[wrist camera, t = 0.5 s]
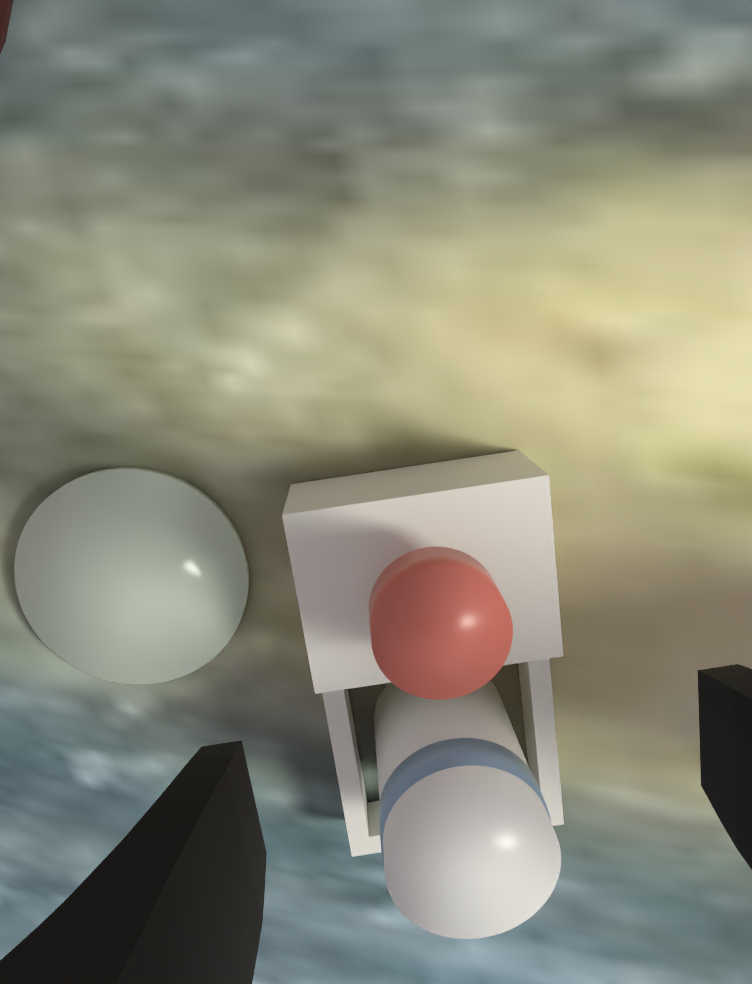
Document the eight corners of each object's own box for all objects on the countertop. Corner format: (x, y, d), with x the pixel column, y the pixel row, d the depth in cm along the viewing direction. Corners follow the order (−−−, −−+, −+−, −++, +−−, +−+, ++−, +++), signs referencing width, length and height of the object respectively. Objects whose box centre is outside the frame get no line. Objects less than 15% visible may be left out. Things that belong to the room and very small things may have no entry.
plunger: (485, 614, 19) (518, 688, 15) (374, 631, 19) (381, 709, 15) (472, 507, 18) (505, 558, 14) (357, 525, 18) (361, 580, 14)
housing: (549, 790, 22) (580, 862, 20) (351, 821, 22) (352, 897, 20) (518, 450, 20) (548, 475, 17) (291, 484, 20) (281, 515, 17)
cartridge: (510, 764, 22) (569, 926, 16) (382, 784, 22) (395, 952, 16) (498, 648, 21) (556, 776, 15) (363, 668, 21) (370, 804, 15)
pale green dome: (267, 660, 21) (266, 667, 21) (53, 692, 21) (48, 699, 20) (225, 450, 19) (222, 453, 19) (-8, 485, 19) (-15, 489, 19)
